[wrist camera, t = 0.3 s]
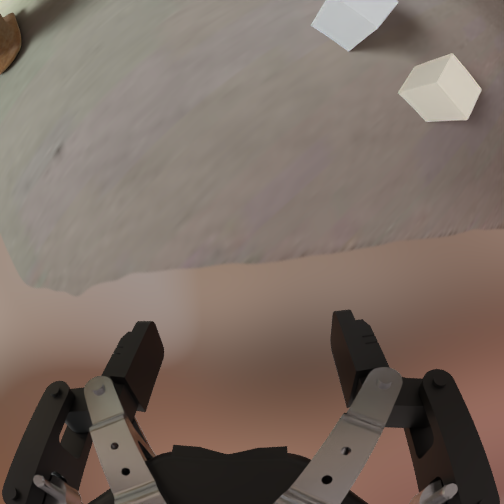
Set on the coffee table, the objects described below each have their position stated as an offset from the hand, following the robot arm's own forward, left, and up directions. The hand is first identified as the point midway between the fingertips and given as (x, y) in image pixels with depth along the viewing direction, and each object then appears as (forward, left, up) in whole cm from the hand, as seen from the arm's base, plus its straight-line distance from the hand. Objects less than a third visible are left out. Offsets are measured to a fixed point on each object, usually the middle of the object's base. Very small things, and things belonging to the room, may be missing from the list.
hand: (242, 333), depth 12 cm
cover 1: (-26, +18, -28) cm, 42 cm away
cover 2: (-15, +30, -28) cm, 44 cm away
